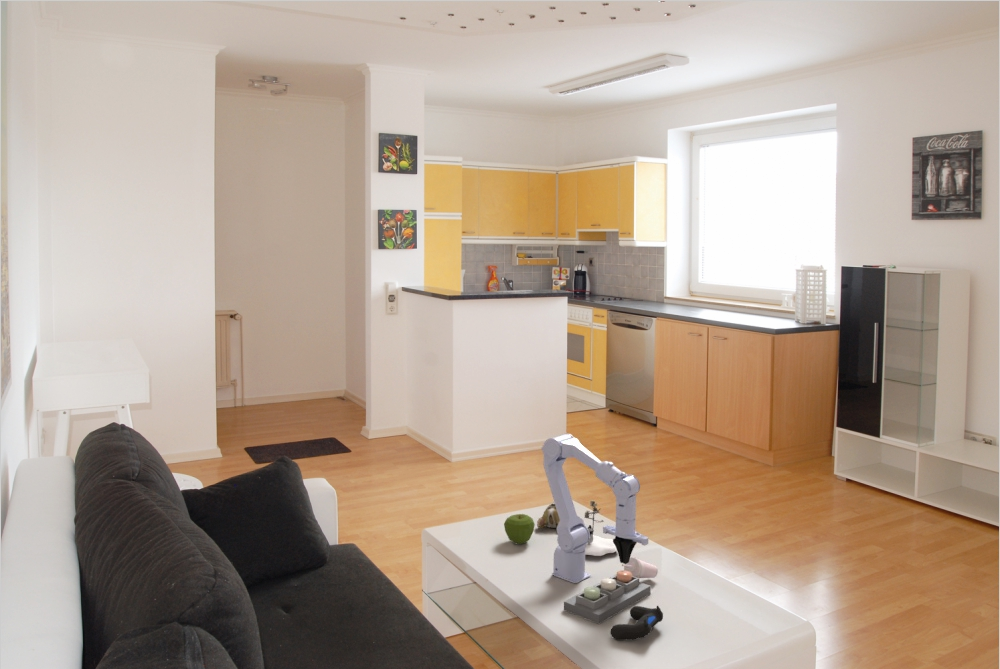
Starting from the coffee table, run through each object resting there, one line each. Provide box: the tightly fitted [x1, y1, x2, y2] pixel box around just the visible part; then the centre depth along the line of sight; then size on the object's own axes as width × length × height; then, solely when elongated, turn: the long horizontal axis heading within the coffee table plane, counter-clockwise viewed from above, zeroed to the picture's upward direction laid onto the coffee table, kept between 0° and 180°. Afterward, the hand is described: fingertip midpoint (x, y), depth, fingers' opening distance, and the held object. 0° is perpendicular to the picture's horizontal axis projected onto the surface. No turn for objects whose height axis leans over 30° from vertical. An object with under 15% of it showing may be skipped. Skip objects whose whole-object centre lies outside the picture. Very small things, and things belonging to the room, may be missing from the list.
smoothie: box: [621, 556, 659, 579], centre depth 236 cm, size 6×6×14 cm
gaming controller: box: [609, 605, 664, 641], centre depth 206 cm, size 17×6×10 cm
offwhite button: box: [600, 578, 616, 592], centre depth 223 cm, size 4×4×2 cm
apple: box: [503, 513, 535, 545], centre depth 269 cm, size 11×10×10 cm
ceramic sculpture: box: [536, 501, 560, 529], centre depth 285 cm, size 11×9×15 cm
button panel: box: [563, 573, 652, 625], centre depth 223 cm, size 12×26×4 cm, turn 137°
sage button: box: [583, 586, 600, 601], centre depth 217 cm, size 4×4×2 cm
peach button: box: [616, 570, 632, 583], centre depth 229 cm, size 4×4×2 cm
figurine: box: [584, 500, 618, 557], centre depth 264 cm, size 20×18×16 cm
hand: (624, 562), depth 229 cm, fingers closed
